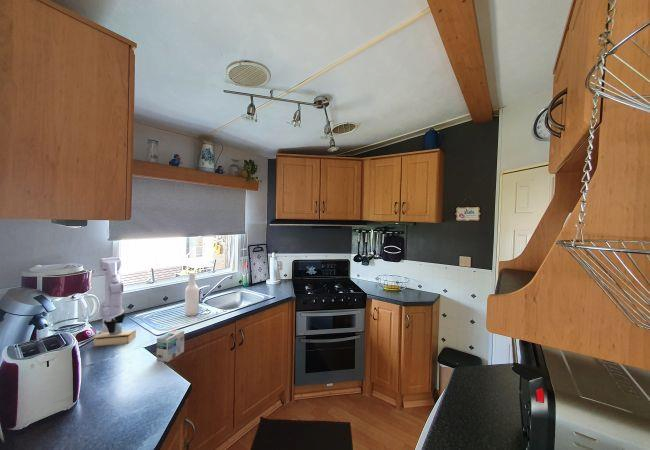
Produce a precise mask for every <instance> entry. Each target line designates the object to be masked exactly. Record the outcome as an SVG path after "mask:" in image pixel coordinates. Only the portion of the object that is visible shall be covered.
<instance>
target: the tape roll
mask: <svg viewBox="0 0 650 450" xmlns="http://www.w3.org/2000/svg"><path fill="white" fill-rule="evenodd" d="M122 325H123V322H122V323H116V326H115V332H114V333H109V335H116V334H120V333H122V331H123V330H122V329H123V326H122Z"/></svg>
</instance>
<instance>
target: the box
mask: <svg viewBox="0 0 650 450" xmlns="http://www.w3.org/2000/svg"><path fill="white" fill-rule="evenodd" d="M136 332H137V330H136V331H135V332H133V333H131V334H130V335H126V336H113V337H101V338H93V340H92V343H93V344H92V346H93V347H102V346H104V347H105V346H117V345H124V344H130V342H132V341H134V339H135V338H136V335H137V334H136ZM131 340H132V341H131Z"/></svg>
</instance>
